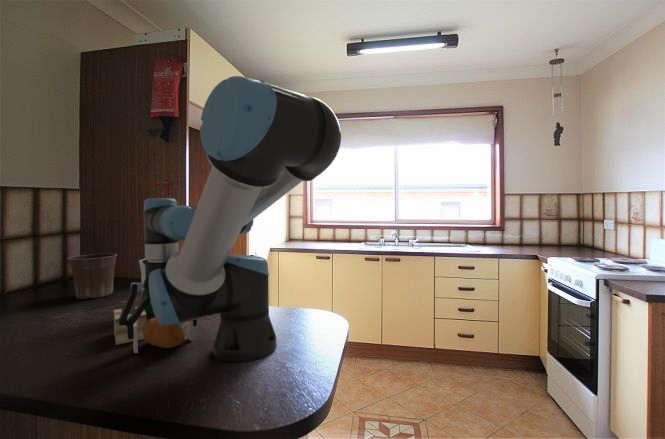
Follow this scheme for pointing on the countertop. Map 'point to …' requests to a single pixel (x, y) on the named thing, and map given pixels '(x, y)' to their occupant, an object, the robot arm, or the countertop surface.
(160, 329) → the potato
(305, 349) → the countertop surface
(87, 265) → the plant pot
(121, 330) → the cradle
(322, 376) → the countertop surface
